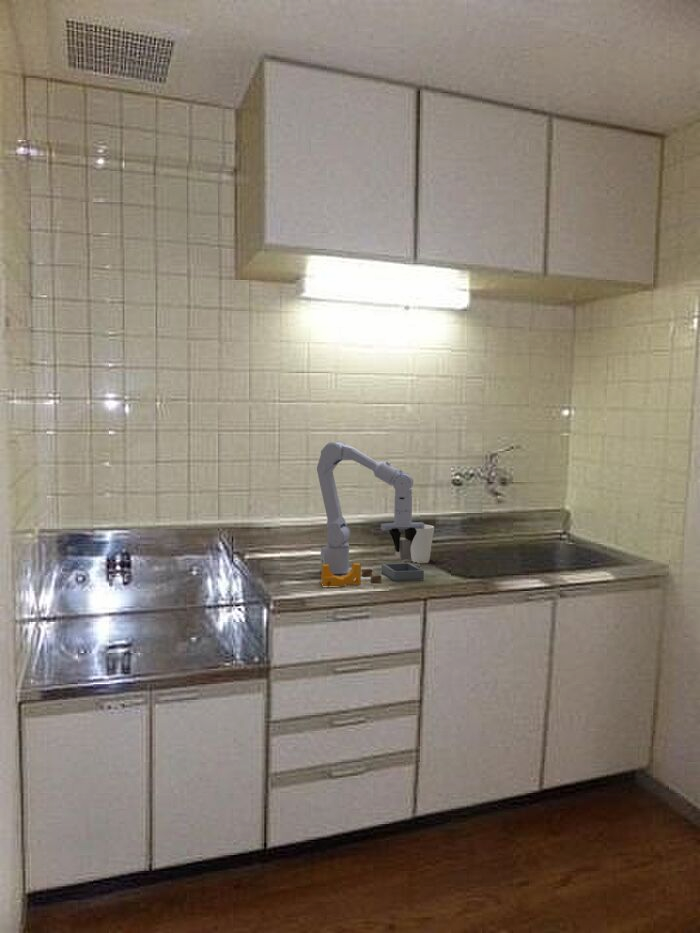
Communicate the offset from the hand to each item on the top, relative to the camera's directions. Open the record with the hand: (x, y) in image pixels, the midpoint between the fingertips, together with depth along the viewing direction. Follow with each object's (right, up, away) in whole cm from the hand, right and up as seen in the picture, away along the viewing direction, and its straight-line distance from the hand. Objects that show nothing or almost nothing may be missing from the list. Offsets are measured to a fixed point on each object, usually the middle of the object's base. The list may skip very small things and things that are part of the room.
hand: (402, 551), depth 218 cm
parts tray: (0, -8, +1) cm, 8 cm away
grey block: (0, -2, 0) cm, 2 cm away
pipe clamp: (-20, -9, -12) cm, 25 cm away
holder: (-10, -9, -3) cm, 14 cm away
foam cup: (+9, -7, +25) cm, 27 cm away
